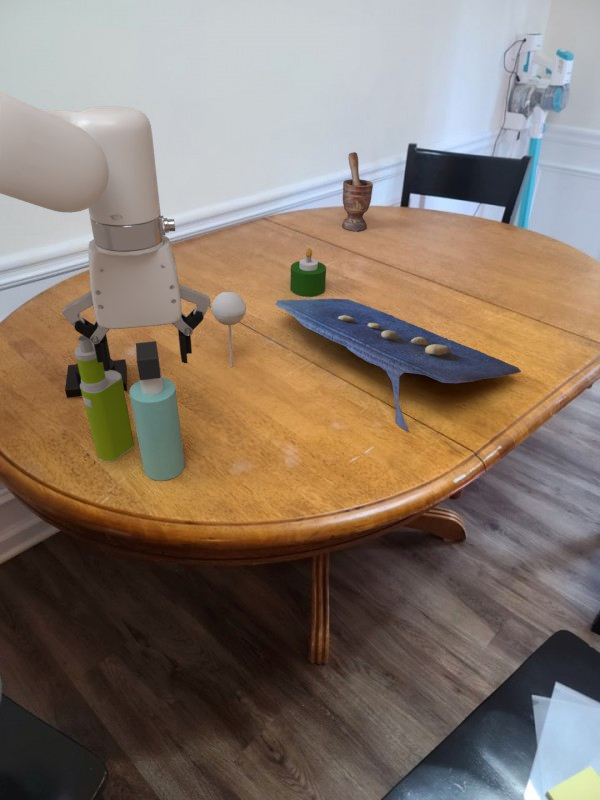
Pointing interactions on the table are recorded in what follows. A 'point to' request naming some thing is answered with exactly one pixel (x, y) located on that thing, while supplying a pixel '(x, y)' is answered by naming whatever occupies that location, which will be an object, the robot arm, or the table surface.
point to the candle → (308, 277)
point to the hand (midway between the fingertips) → (146, 361)
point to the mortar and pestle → (356, 197)
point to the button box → (75, 379)
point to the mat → (394, 344)
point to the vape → (104, 404)
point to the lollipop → (228, 312)
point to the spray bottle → (156, 417)
